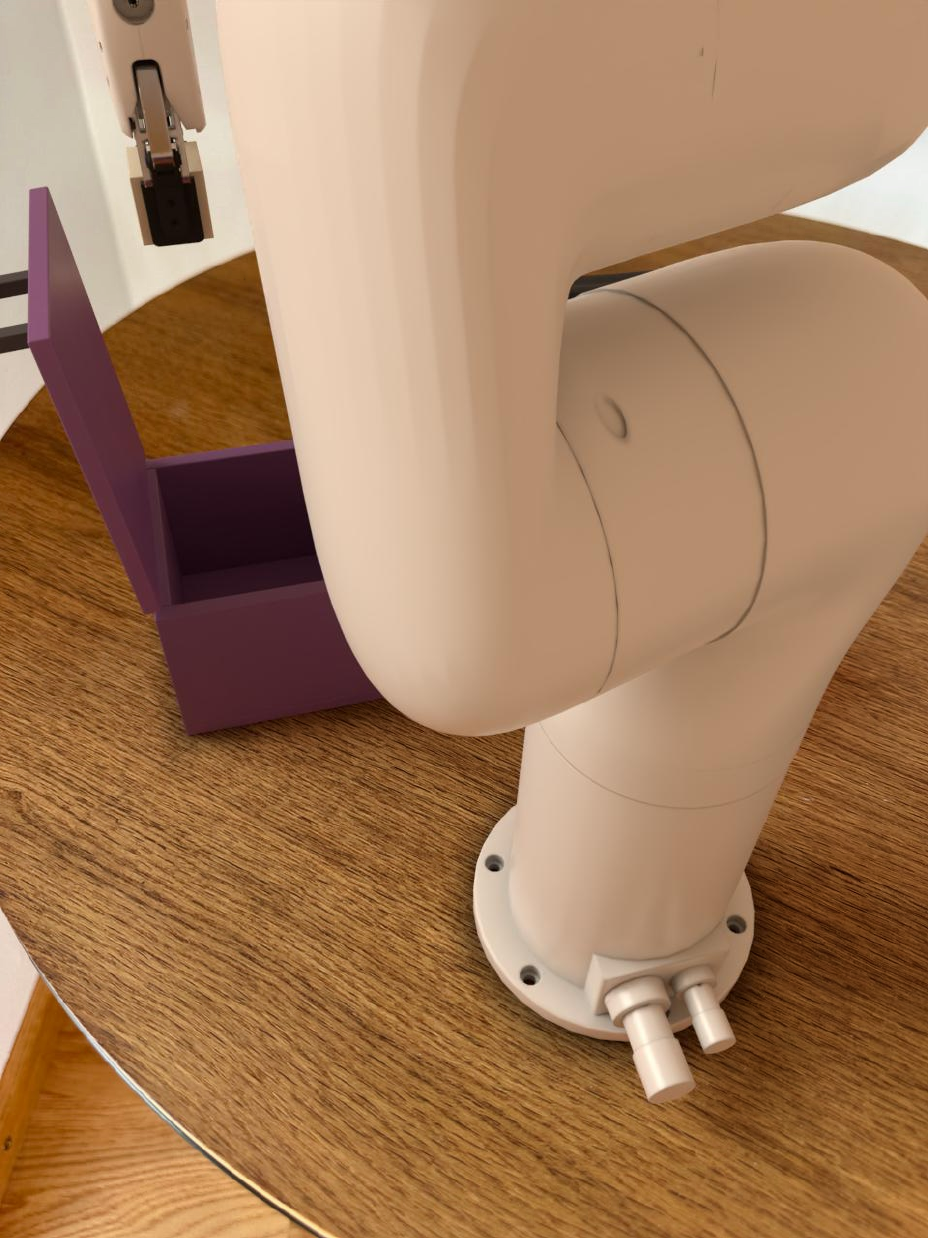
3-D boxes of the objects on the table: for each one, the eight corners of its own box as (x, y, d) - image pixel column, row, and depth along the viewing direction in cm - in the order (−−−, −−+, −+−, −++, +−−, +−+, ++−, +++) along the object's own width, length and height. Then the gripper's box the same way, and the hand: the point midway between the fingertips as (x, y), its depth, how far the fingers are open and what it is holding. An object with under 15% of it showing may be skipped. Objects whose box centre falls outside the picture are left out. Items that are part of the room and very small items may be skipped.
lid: (47, 184, 45) (-76, 206, 44) (50, 337, 37) (-99, 366, 37) (145, 451, 56) (47, 472, 55) (161, 611, 48) (48, 638, 48)
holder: (398, 541, 65) (394, 424, 59) (444, 687, 58) (447, 570, 51) (169, 578, 63) (139, 460, 56) (186, 736, 55) (154, 620, 49)
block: (214, 238, 69) (203, 170, 66) (143, 245, 68) (129, 177, 65) (207, 207, 72) (196, 140, 69) (139, 214, 71) (125, 146, 68)
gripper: (201, -68, 52) (250, 281, 65) (173, -150, 63) (220, 162, 76) (38, -58, 50) (122, 296, 63) (39, -145, 61) (111, 172, 75)
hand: (175, 220), depth 70 cm, fingers closed on block, 4 cm apart
